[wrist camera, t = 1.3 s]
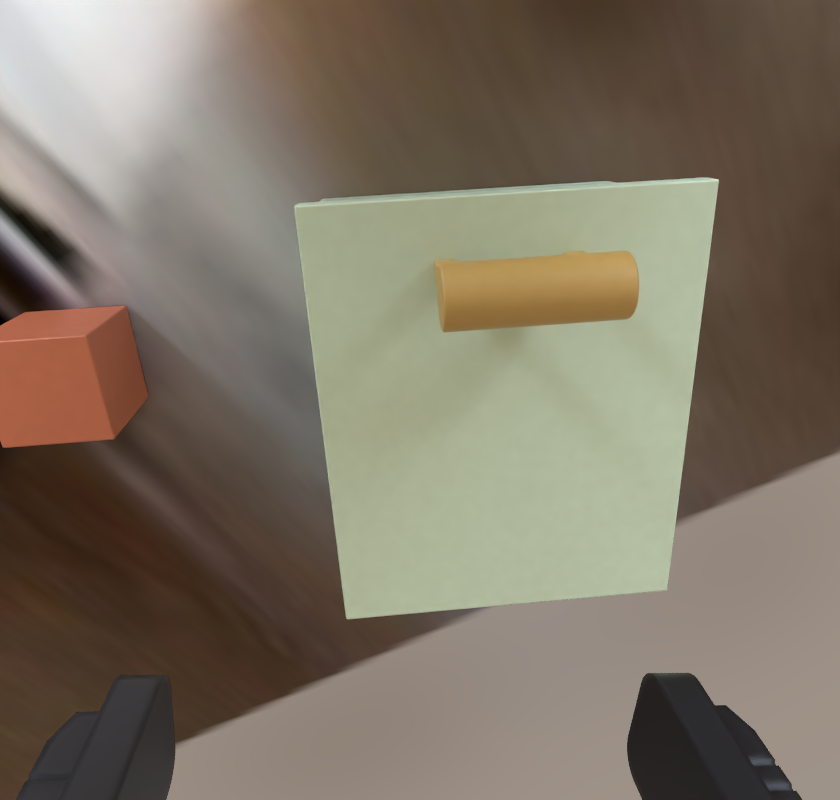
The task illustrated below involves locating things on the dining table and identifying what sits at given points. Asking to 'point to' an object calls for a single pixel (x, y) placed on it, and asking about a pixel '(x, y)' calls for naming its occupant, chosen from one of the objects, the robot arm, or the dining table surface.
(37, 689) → the dining table surface
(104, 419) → the block
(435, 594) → the lid
